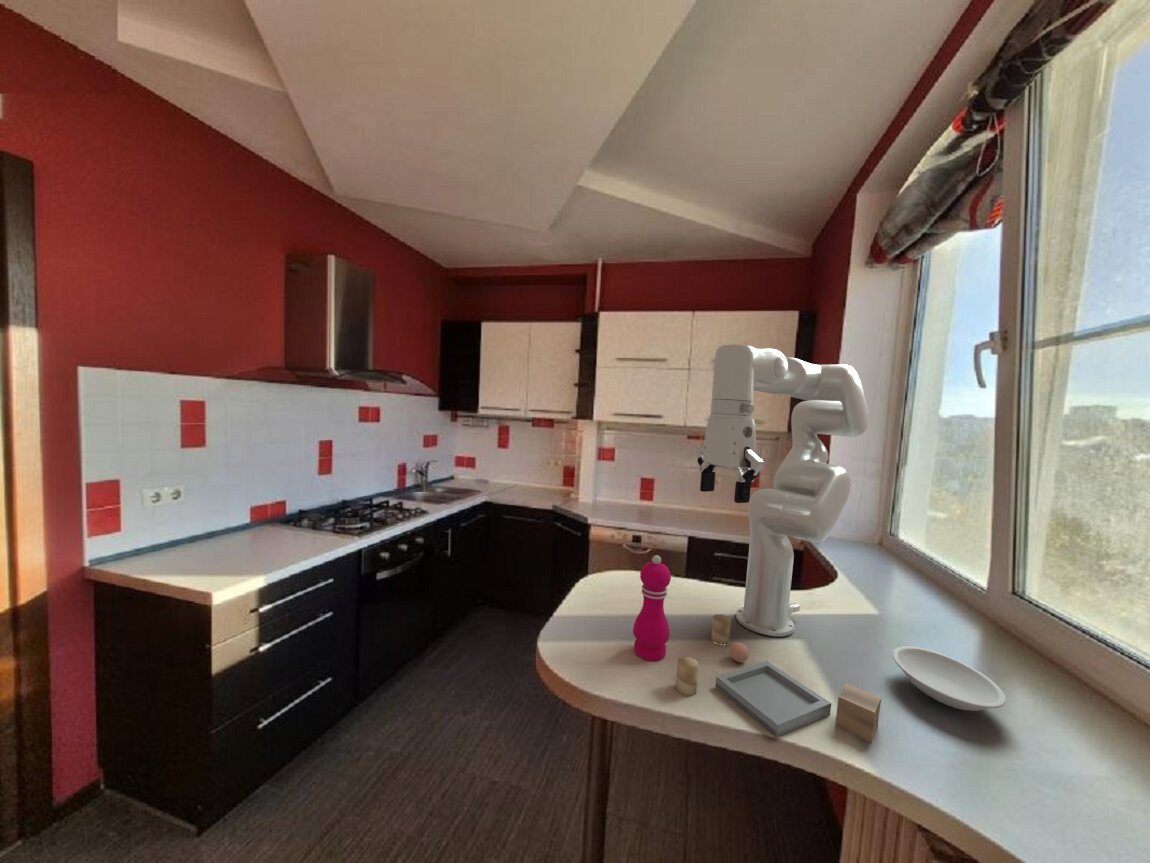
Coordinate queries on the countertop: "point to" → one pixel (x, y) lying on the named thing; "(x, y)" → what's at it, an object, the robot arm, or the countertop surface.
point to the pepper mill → (652, 612)
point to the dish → (948, 679)
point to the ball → (739, 652)
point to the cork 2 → (720, 629)
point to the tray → (773, 697)
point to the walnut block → (858, 712)
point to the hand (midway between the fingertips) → (723, 496)
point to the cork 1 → (686, 676)
